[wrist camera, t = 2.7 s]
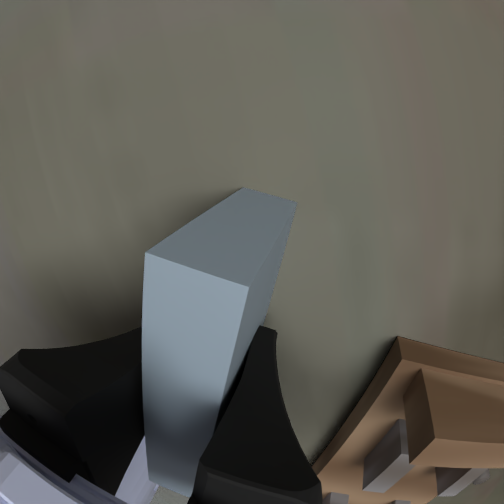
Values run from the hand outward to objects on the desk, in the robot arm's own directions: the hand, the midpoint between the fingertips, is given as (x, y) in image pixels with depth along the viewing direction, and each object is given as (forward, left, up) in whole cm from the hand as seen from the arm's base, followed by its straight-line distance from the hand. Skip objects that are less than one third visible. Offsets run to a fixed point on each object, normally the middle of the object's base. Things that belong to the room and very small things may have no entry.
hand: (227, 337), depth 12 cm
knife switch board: (-8, -11, -2) cm, 14 cm away
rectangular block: (0, 0, -2) cm, 2 cm away
